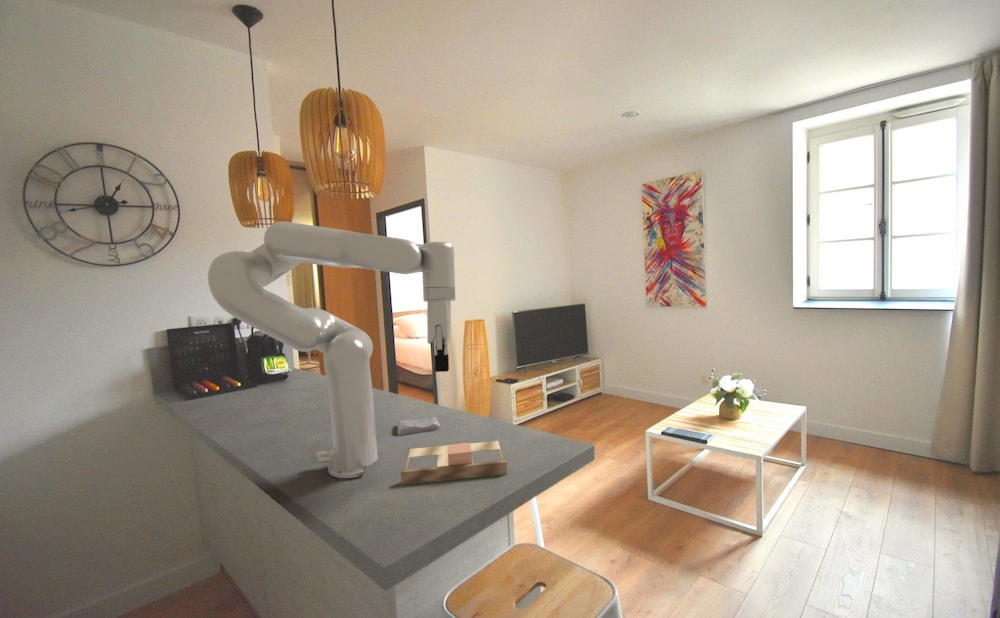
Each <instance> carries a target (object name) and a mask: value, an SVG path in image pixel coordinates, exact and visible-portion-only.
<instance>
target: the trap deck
mask: <svg viewBox="0 0 1000 618" xmlns="http://www.w3.org/2000/svg"><path fill="white" fill-rule="evenodd" d="M469 443H470V444H471V451H472V453H473V452H482V451H492V450H493V451H494V450H498V453H499V456H500V460H493V461H484V462H483V461H482V462H481V461H480V462H473V460H472V463H471V464H461V465H450V466H448V445H449V444H447V445H437V446H429V447H416V448H410V449H409V451H408V456H407V460H406V464H405V469H401V471H400V481H401V485H407V484H417V483H427V482H438V481H447V480H448V481H450V480H459V479H468V478H477V477H478V478H479V477H488V476H490V477H491V476H499V475H507V474H508V461H507V459H504V457H503V453H502V449H501V446H500V442H499V440H494V441H492V440H491V441H482V442H469ZM429 456H437V460H436V461H437V462H436V466H433V467H432V466H431V467H430V466H429V467H419V468H411V469H408V468H409V464H410V461H411V458H418V457H429Z"/></svg>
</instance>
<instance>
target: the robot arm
mask: <svg viewBox="0 0 1000 618" xmlns="http://www.w3.org/2000/svg"><path fill="white" fill-rule="evenodd" d="M302 263H303V264H311V265H316V266H317V265H319V266H324V267H325V266H326V267H333V268H340V269H363V270H364V269H365V270H370V271H371V270H373V271H377V272H378V271H379V272H387V273H395V274H400V275H401V274H402V275H409V274H415V273H422V292H423V296H422V299H423V302H425V303H427V307H426V308H427V312H426V313H427V314H426V317H427V320H426V322H427V326H426V327H427V328H426V329H427V338H426V339H427V340H426V341H427V343H428V344H429V345H431V344H432V343H433V342H434V372H436V373H437V372H438V373H441V372H444V373H445V372H449V371H450V363H449V362H450V361H449V359H450V357H449V353H448V351H449V348H448V343H449V342H450V339H451V333H452V332H451V330H452V313H451V312H452V310H451V305H452V302H453V301H456V275H455V273H456V272H455V250H454V246H453V244H452V243H451V242H448V241H447V242H446V241H430V242H429V241H428V242H425V243H424V244H422V243H415V242H413V241H411V240H409V239H405V238H398V237H390V236H384V235H379V234H371V233H370V234H369V233H363V232H356V231H353V230H346V229H340V228H339V229H338V228H333V227H327V226H326V227H324V226H318V225H313V224H312V225H311V224H307V223H306V224H304V223H298V222H293V221H292V222H291V221H278V222H273V223H272V224H271V225H270V226H268V227H267V228H266V230H265V232H264V236H263V244H261V245H259V246H258V247H256V248H255V249H253V250H252V251H250V252H247V251H241V250H240V251H238V250H235V251H234V250H232V251H228V252H223V253H221V254H219V255H218V256H217V257H215V258H214V259H213V260H212V262H211V263H210V265H209V268H208V271H207V281H208V287H209V290H210V294H211V295H212V297H213V299H214V300H215V301H216V303H217V304H218V306H220V307H221V309H223V310H224V311H225V312H226V313H228V314H229V315H231V317H234V318H235V319H237V320H239V321H240V322H243V323H245V324H246V325H248V326H250V327H253V328H254V329H256V330H258V331H260V332H261V333H263V334H265V335H267V336H269V337H271V338H273V339H275V340H277V341H278V342H280V343H282V344H284V345H287V346H288V347H289V348H291V349H294V350H296V351H298V352H305V353H306V352H311V351H314V350H316V351H319V352H320V353H322V354H324V355H323V363H324V367H323V368H324V372H325V376H326V377H325V378H326V380H327V381H326V382H327V387H328V388H327V390H328V399H329V407H330V418H331V419H330V420H331V421H330V422H331V429H332V430H331V431H332V433H331V434H332V441H333V448H332V449H330V450H329V451H325V450H323V451H322V450H320V451H316V454H315V461H318V464H325V463H329V465H328V468H327V469H328V470H327V471H328V474H329V475H330V476H331V477H334V478H338V479H354V478H360V477H363V476H364V473H365V471H366V469H367V467H368V466H371V465H372V464H374V463H375V462H376V461H377V460H378V456H379V455H378V445H377V444H378V442H377V431H376V420H375V418H376V417H375V407H374V406H375V405H374V393H373V384H372V375H371V365H370V362H371V361H370V359H371V356H372V355H373V350H374V344H373V341H372V339H371V336H369V335H368V333H366V331H364V330H362V329H361V328H359V327H356V326H355V325H353V324H351V323H349V322H347V320H346V321H345V320H344V319H341V317H338V316H336V315H334V314H333V313H331V312H329V311H327V310H323V309H322V308H318V307H306V308H303V307H301V306H299V305H296V304H294V303H293V302H291V301H288V300H287V299H285V298H283V297H281V296H280V295H278V294H275V293H273V292H271V291H268V290H267V289H265V288H264V287H266V286H268V285H271V284H272V283H273V282H275V281H276V280H278V279H279V278H281V277H282V276H284V275H285V274H287V273H288V272H290V271H291V270H293V269H295V268H296V267H297V266H298V265H300V264H302Z"/></svg>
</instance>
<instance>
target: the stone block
mask: <svg viewBox="0 0 1000 618" xmlns="http://www.w3.org/2000/svg"><path fill="white" fill-rule="evenodd" d="M438 430H441V425H440V422H439V421H438V419H437V417H436V416H426V417H424V416H423V417H419V418H418V419H417V418H416V420H415V419H404V420H398V421H397V430H396V431H397V432H396V433H397V435H398V436H404V435H410V434H411V435H413V434H416V433H424V432H430V431H431V432H432V431H438Z"/></svg>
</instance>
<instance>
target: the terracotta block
mask: <svg viewBox="0 0 1000 618" xmlns="http://www.w3.org/2000/svg"><path fill="white" fill-rule="evenodd" d="M470 443H471V442H463V443H462V442H461V443H454V444H453V443H452V444H451V443H450V444H447V445H448V466H450V465H461V464H471V463H472V461H473V455H472V454H473V452H472V451H471V444H470Z"/></svg>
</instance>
